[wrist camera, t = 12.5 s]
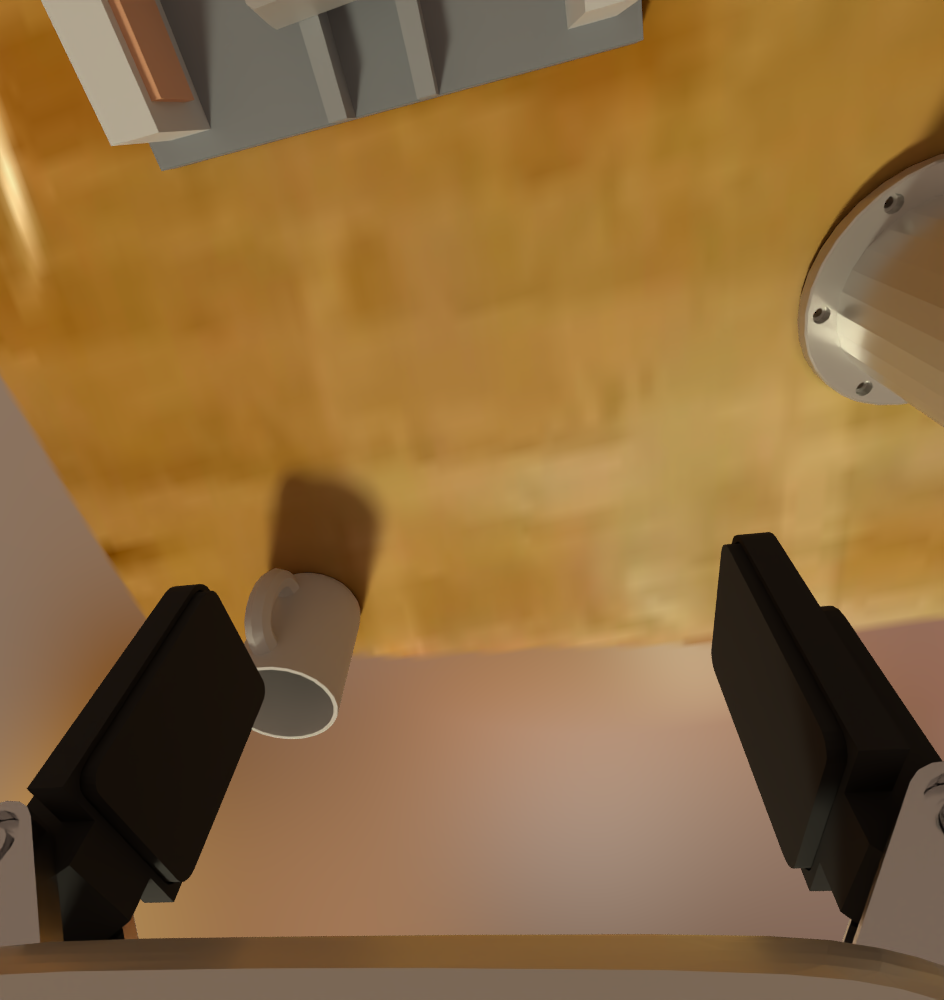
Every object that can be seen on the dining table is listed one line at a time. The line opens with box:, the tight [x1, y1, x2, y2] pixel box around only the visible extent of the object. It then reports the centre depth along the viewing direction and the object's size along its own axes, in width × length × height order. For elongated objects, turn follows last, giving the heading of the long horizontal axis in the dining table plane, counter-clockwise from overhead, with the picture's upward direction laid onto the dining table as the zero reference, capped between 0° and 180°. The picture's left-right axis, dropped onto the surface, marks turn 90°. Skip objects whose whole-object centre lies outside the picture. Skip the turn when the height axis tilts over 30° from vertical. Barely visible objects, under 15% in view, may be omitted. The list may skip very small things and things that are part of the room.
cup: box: [244, 568, 360, 739], centre depth 40 cm, size 7×10×9 cm
